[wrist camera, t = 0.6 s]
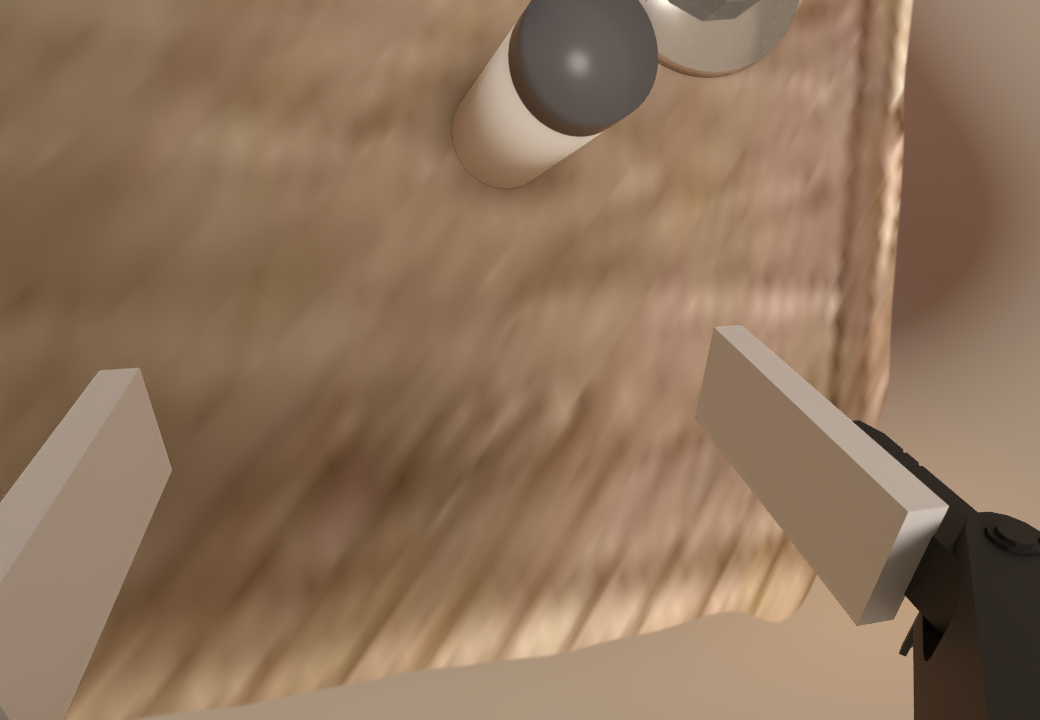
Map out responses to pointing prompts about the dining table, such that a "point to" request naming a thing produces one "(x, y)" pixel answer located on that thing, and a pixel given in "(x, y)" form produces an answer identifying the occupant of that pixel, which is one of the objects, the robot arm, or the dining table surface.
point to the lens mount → (717, 32)
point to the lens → (554, 87)
